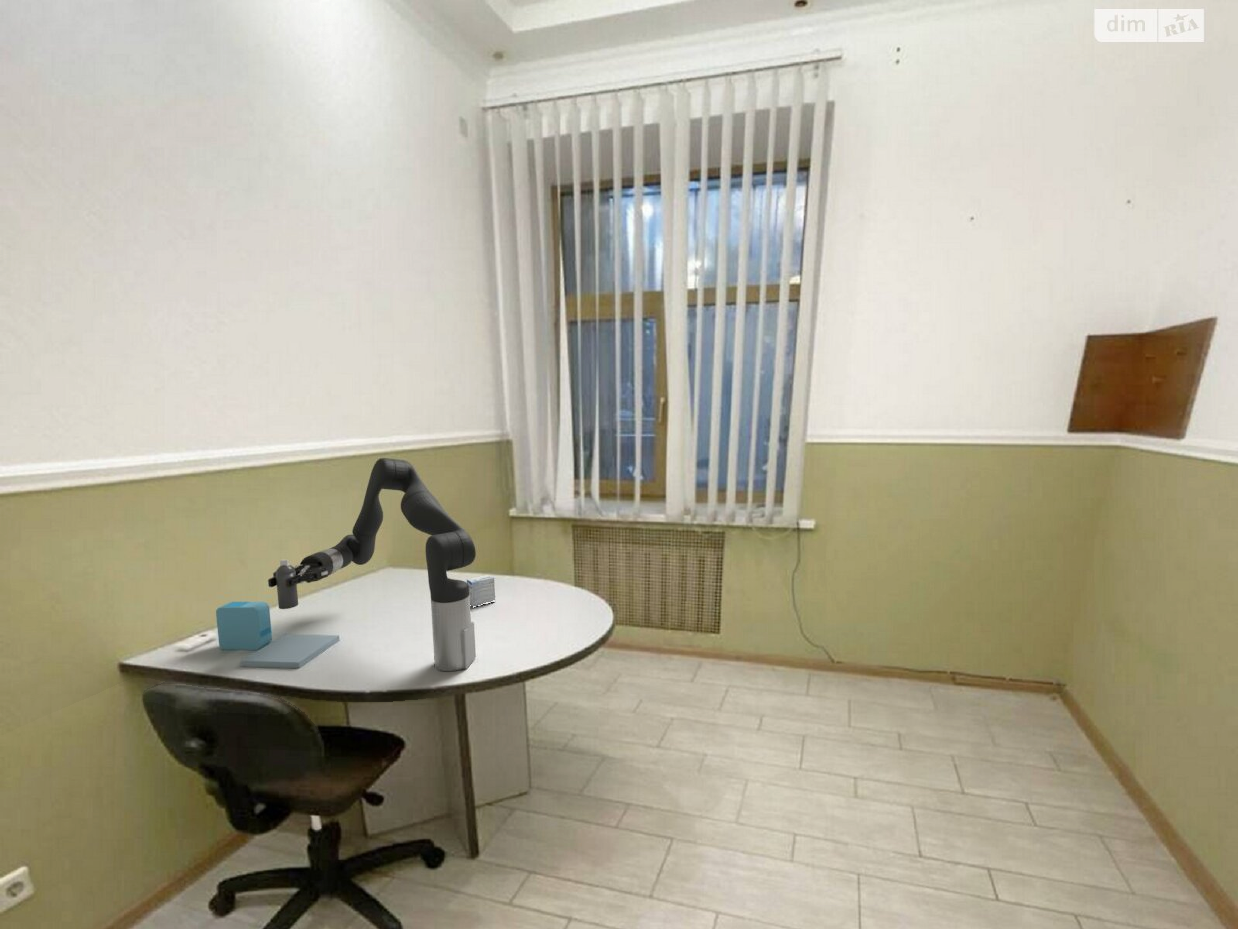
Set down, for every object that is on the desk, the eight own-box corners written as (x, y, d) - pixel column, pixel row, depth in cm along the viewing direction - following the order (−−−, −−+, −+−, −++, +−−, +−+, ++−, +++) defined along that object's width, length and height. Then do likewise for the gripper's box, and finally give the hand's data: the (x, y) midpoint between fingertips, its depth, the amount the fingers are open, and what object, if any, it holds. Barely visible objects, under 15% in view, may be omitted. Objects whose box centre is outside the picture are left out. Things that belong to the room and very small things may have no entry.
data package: (273, 643, 147) (269, 601, 146) (260, 650, 143) (257, 607, 142) (232, 642, 148) (228, 601, 147) (219, 650, 144) (214, 607, 143)
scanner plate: (339, 640, 148) (339, 635, 148) (299, 668, 132) (299, 662, 132) (286, 639, 150) (286, 634, 150) (240, 666, 134) (240, 660, 134)
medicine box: (489, 599, 179) (488, 574, 178) (495, 602, 175) (494, 577, 175) (467, 605, 174) (466, 579, 173) (473, 608, 170) (472, 582, 170)
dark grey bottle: (302, 603, 142) (298, 557, 140) (290, 609, 137) (286, 562, 136) (286, 602, 142) (282, 557, 141) (274, 609, 138) (270, 562, 136)
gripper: (298, 551, 153) (251, 569, 137) (344, 551, 152) (303, 569, 135) (300, 576, 154) (254, 597, 137) (346, 577, 153) (305, 598, 136)
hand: (278, 583), depth 136 cm, fingers closed on dark grey bottle, 4 cm apart
